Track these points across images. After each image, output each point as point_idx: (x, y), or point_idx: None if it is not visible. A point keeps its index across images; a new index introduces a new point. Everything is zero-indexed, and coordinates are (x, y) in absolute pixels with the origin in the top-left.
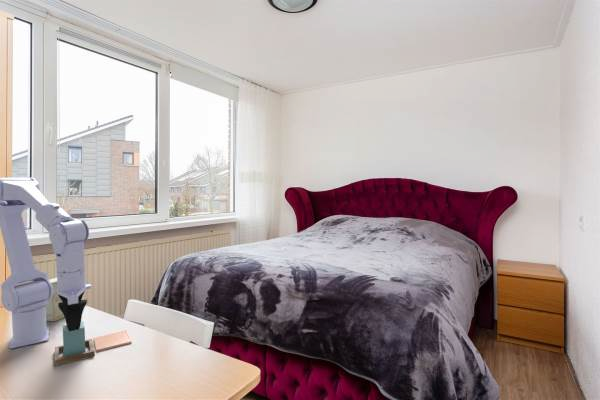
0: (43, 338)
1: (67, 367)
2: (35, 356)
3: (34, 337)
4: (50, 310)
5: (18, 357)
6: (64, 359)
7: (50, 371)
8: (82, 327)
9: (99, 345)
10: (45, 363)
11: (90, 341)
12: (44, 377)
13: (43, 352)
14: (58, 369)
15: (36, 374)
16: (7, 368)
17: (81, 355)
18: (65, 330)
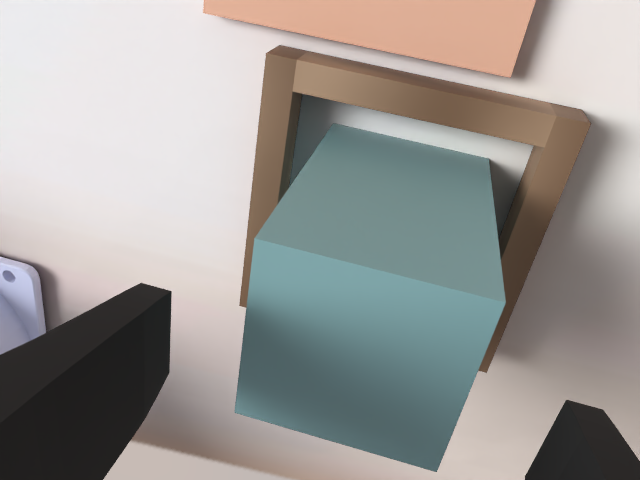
0: (7, 288)
1: (587, 307)
2: (238, 367)
3: (8, 346)
4: None
5: (190, 416)
6: (506, 320)
7: (542, 381)
8: (479, 316)
9: (428, 21)
10: None
11: (323, 83)
12: None
13: (208, 327)
14: (560, 348)
15: (507, 431)
16: (297, 475)
17: (549, 220)
18: (411, 445)
